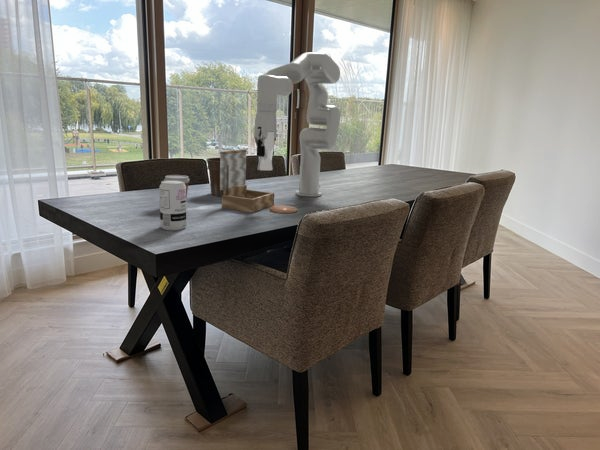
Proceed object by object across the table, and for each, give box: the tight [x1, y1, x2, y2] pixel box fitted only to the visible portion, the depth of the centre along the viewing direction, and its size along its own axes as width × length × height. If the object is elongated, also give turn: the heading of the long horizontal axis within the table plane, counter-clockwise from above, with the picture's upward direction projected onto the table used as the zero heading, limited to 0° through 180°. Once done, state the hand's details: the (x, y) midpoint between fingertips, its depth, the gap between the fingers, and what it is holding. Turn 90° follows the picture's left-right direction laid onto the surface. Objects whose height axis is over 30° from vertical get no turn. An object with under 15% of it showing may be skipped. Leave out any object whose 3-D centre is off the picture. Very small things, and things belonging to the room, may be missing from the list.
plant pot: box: [206, 157, 238, 197], centre depth 204 cm, size 16×16×16 cm
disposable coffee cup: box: [163, 174, 190, 200], centre depth 174 cm, size 10×10×12 cm
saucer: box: [269, 204, 298, 214], centre depth 180 cm, size 11×11×1 cm
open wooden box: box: [219, 148, 275, 213], centre depth 182 cm, size 18×15×22 cm
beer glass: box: [257, 132, 276, 172], centre depth 177 cm, size 7×7×15 cm
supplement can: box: [159, 180, 187, 231], centre depth 144 cm, size 8×8×15 cm
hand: (265, 155), depth 177 cm, fingers closed on beer glass, 6 cm apart
